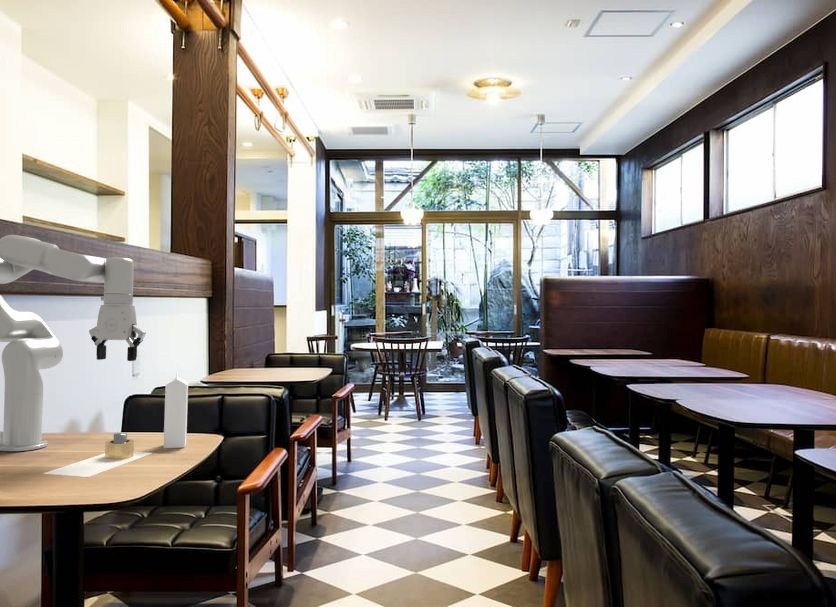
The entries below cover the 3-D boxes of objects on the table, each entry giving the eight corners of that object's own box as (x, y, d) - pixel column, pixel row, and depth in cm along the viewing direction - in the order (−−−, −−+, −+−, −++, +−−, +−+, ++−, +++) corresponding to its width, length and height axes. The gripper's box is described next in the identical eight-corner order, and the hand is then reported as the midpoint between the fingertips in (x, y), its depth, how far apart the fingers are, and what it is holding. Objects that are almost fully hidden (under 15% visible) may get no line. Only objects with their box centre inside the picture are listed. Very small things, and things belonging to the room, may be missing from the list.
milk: (163, 448, 185) (165, 374, 185) (165, 444, 190) (167, 372, 191) (185, 447, 186) (187, 373, 186) (186, 443, 192) (188, 371, 192)
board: (42, 479, 148) (43, 473, 148) (113, 455, 174) (113, 450, 174) (87, 483, 146) (88, 476, 146) (152, 458, 172) (153, 452, 172)
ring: (99, 458, 164) (100, 443, 164) (116, 452, 171) (116, 438, 171) (122, 460, 163) (123, 444, 163) (138, 454, 170) (139, 439, 170)
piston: (110, 457, 166) (111, 434, 166) (118, 454, 169) (118, 432, 169) (121, 458, 165) (121, 435, 165) (128, 455, 168) (129, 433, 168)
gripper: (82, 299, 177) (80, 359, 177) (137, 300, 174) (135, 362, 174) (100, 300, 184) (98, 358, 184) (153, 301, 181) (151, 360, 181)
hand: (116, 360), depth 179 cm, fingers open, 9 cm apart
